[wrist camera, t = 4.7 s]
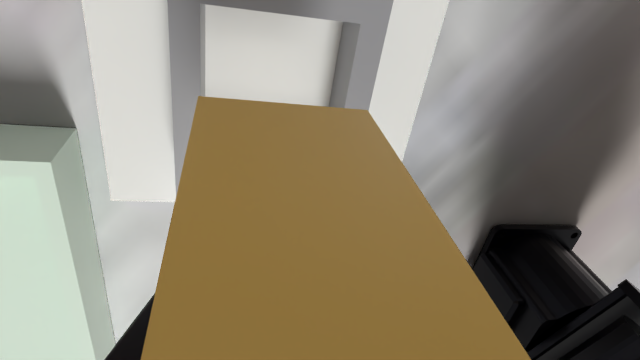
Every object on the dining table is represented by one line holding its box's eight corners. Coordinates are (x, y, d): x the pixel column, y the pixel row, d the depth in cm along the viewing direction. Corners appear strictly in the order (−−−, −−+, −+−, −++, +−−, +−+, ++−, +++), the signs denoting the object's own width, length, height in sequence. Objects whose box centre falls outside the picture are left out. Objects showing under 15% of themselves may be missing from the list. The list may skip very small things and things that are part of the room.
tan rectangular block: (367, 110, 10) (618, 492, 3) (327, 282, 13) (418, 656, 7) (198, 96, 9) (93, 576, 3) (198, 285, 12) (152, 719, 6)
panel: (449, -41, 17) (493, -31, 14) (383, 196, 23) (403, 237, 20) (76, -105, 14) (33, -110, 11) (116, 188, 20) (95, 235, 17)
